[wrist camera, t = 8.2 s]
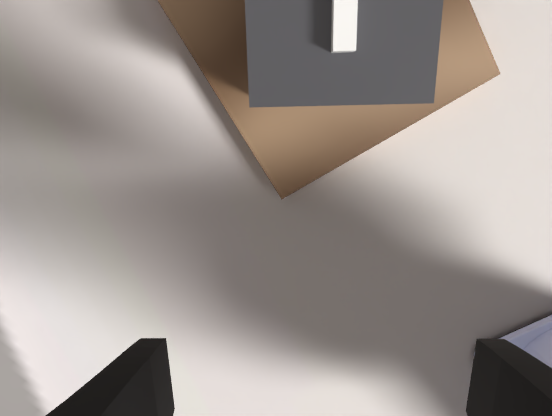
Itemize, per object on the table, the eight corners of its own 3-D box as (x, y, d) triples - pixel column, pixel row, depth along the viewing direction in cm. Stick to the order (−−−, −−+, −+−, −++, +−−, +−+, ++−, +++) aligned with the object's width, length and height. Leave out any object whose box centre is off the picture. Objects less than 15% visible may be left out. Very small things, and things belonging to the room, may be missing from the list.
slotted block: (390, 97, 16) (440, 104, 11) (261, 100, 16) (247, 108, 11) (399, -51, 14) (463, -131, 9) (256, -46, 14) (237, -121, 9)
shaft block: (488, 74, 16) (558, 70, 12) (282, 193, 18) (279, 226, 14) (378, -180, 14) (417, -296, 10) (153, -14, 16) (103, -51, 12)
